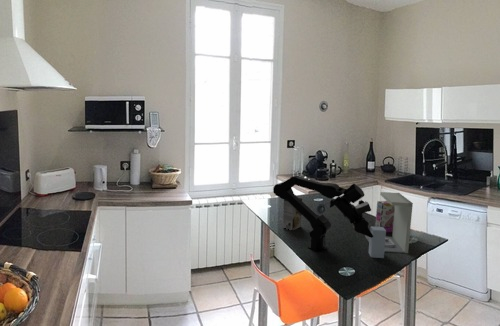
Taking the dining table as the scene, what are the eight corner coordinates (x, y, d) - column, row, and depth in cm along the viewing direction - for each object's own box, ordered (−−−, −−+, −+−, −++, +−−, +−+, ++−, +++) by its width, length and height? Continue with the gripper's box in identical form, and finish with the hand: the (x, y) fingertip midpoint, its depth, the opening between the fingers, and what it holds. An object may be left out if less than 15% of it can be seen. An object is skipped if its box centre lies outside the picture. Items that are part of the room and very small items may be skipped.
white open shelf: (374, 251, 169) (378, 201, 166) (365, 236, 189) (368, 191, 185) (408, 253, 168) (412, 203, 164) (395, 237, 188) (399, 192, 184)
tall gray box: (370, 257, 162) (373, 230, 160) (368, 252, 167) (370, 226, 165) (383, 258, 162) (386, 230, 160) (380, 253, 167) (383, 227, 165)
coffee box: (291, 224, 205) (292, 196, 203) (301, 226, 201) (302, 198, 199) (282, 228, 198) (283, 199, 196) (292, 231, 194) (293, 201, 192)
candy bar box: (380, 233, 193) (382, 203, 191) (374, 230, 198) (376, 201, 196) (397, 232, 197) (400, 202, 194) (391, 229, 201) (394, 199, 199)
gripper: (364, 201, 152) (390, 228, 153) (356, 191, 170) (379, 215, 171) (344, 218, 154) (369, 245, 154) (338, 207, 172) (360, 231, 173)
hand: (370, 233), depth 163 cm, fingers open, 9 cm apart
